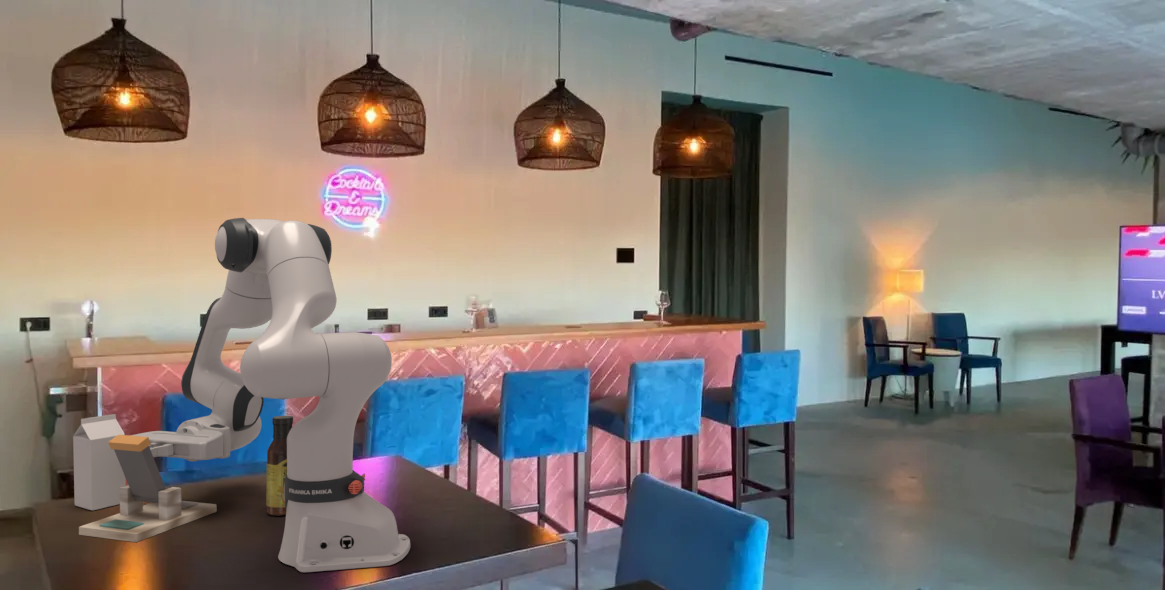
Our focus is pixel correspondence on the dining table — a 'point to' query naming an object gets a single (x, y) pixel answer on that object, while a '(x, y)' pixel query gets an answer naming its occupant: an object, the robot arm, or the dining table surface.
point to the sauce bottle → (277, 465)
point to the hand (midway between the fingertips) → (143, 453)
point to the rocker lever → (138, 467)
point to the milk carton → (97, 463)
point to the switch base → (147, 516)
